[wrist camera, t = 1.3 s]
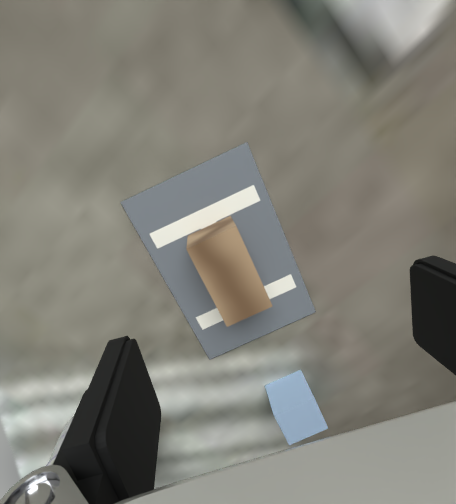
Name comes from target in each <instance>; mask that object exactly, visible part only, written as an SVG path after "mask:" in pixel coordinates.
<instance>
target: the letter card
mask: <svg viewBox="0 0 456 504" xmlns="http://www.w3.org/2000/svg"><path fill="white" fill-rule="evenodd" d="M121 204H122V206H123V208H124V209H125V211H126V213H127V215H128V216H129V218H130V220H131V222H132V223H133V225H134V227H135V229H136V231H137V232H138V234H139V236H140V238H141V239H142V241H143V243H144V245H145V246H146V248H147V250H148V252H149V253H150V255H151V257H152V259H153V261H154V262H155V264H156V266H157V268H158V269H159V271H160V273H161V275H162V276H163V278H164V280H165V282H166V283H167V285H168V287H169V289H170V290H171V292H172V294H173V296H174V298H175V299H176V301H177V303H178V305H179V306H180V308H181V310H182V312H183V313H184V315H185V317H186V319H187V320H188V322H189V324H190V326H191V328H192V329H193V331H194V333H195V335H196V336H197V338H198V340H199V342H200V343H201V345H202V347H203V349H204V350H205V352H206V354H207V356H208V357H209V359H212V358H214V357H217V356H219V355H221V354H223V353H226V352H228V351H230V350H232V349H234V348H237V347H239V346H241V345H243V344H246V343H248V342H250V341H252V340H254V339H257V338H259V337H261V336H263V335H266V334H268V333H270V332H272V331H275V330H277V329H279V328H281V327H283V326H286V325H288V324H290V323H292V322H295V321H297V320H299V319H301V318H303V317H306V316H308V315H310V314H312V313H315V312H316V311H315V309H314V306H313V304H312V301H311V299H310V296H309V294H308V291H307V289H306V286H305V284H304V282H303V279H302V277H301V274H300V272H299V269H298V267H297V264H296V262H295V259H294V257H293V254H292V252H291V249H290V247H289V244H288V242H287V240H286V237H285V235H284V232H283V230H282V227H281V225H280V222H279V220H278V217H277V215H276V212H275V210H274V207H273V205H272V203H271V200H270V198H269V195H268V193H267V190H266V188H265V185H264V183H263V180H262V178H261V175H260V173H259V170H258V168H257V165H256V163H255V161H254V158H253V156H252V153H251V151H250V148H249V146H248V143H247V142H246V143H244V144H242V145H240V146H238V147H236V148H234V149H231V150H229V151H227V152H225V153H223V154H221V155H219V156H217V157H215V158H213V159H210V160H208V161H206V162H204V163H202V164H200V165H198V166H196V167H194V168H192V169H189V170H187V171H185V172H183V173H181V174H179V175H177V176H175V177H173V178H170V179H168V180H166V181H164V182H162V183H160V184H158V185H156V186H154V187H152V188H149V189H147V190H145V191H143V192H141V193H139V194H137V195H135V196H133V197H131V198H128V199H126V200H124V201H122V202H121ZM229 216H231V217H232V219H233V221H234V223H235V225H236V226H237V229H238V231H239V233H240V235H241V237H242V240H243V242H244V244H245V246H246V248H247V251H248V253H249V255H250V257H251V259H252V262H253V264H254V266H255V268H256V270H257V273H258V275H259V277H260V279H261V281H262V284H263V286H264V288H265V290H266V293H267V295H268V297H269V299H270V301H271V304H272V307H270V308H268V309H266V310H264V311H261V312H259V313H257V314H255V315H252V316H250V317H248V318H246V319H244V320H241V321H239V322H237V323H235V324H233V325H230V326H228V327H227V326H226V324H225V322H224V320H223V318H222V317H221V315H220V313H219V311H218V309H217V307H216V305H215V303H214V301H213V299H212V297H211V295H210V294H209V292H208V290H207V288H206V286H205V284H204V282H203V280H202V278H201V276H200V274H199V273H198V271H197V269H196V267H195V265H194V263H193V261H192V259H191V257H190V255H189V253H188V251H187V250H186V248H187V237H188V235H190V234H192V233H194V232H197V231H199V230H201V229H203V228H205V227H207V226H209V225H212V224H214V223H216V222H218V221H220V220H222V219H224V218H227V217H229Z"/></svg>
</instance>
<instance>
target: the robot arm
mask: <svg viewBox="0 0 456 504" xmlns="http://www.w3.org/2000/svg"><path fill="white" fill-rule="evenodd" d="M410 285H411V305H412V326H413V337H414V339H415V341H416V343H417V344H418V345H419V346H420V347H421V348H423V349H424V350H425V351H426V352H428V353H429V354H430V355H431V356H433V357H434V358H435V359H436V360H437V361H439V362H440V363H441V364H442V365H444V366H445V367H446V368H447V369H449V370H450V371H451V372H452V373H454V374H455V375H456V264H455V263H452V262H450V261H447V260H445V259H442V258H440V257H437V256H430V257H426V258H422V259H418V260H416V261H415V262H414V264H413V265H412V266H411V268H410ZM160 422H161V409H160V404H159V402H158V399H157V396H156V393H155V391H154V388H153V385H152V382H151V379H150V377H149V374H148V371H147V368H146V366H145V363H144V360H143V357H142V355H141V352H140V349H139V346H138V344H137V341H136V340H135V339H131V340H130V338H129V337H128V336H125V337H121V338H117V339H113V340H110V341H109V342H108V344H107V346H106V348H105V351H104V353H103V355H102V357H101V360H100V362H99V364H98V367H97V369H96V371H95V374H94V376H93V378H92V381H91V383H90V385H89V388H88V390H86V391H85V393H84V394H83V397H82V399H81V401H80V404H79V406H78V408H77V410H76V413H75V415H74V417H73V419H72V422H71V424H70V426H69V429H68V431H67V433H66V435H65V438H64V440H63V442H62V445H61V447H60V449H59V451H58V454H57V456H56V458H55V460H54V463H53V465H49V466H44V467H41V468H39V469H37V470H35V471H32V472H31V473H29V474H28V475H26V476H25V477H23V478H22V479H20V480H19V481H18V482H17V483H16V484H15V485H14V486H12V487H11V488H10V489H9V490H8V492H7V493H6V494H5V495H4V496H3V498H2V499H1V500H0V504H456V401H452V402H449V403H445V404H442V405H438V406H435V407H431V408H428V409H424V410H421V411H417V412H414V413H410V414H407V415H403V416H400V417H396V418H393V419H389V420H386V421H382V422H379V423H375V424H372V425H369V426H365V427H362V428H358V429H355V430H351V431H348V432H344V433H341V434H337V435H334V436H331V437H327V438H324V439H320V440H317V441H313V442H310V443H307V444H303V445H300V446H297V447H293V448H290V449H286V450H283V451H280V452H276V453H273V454H269V455H266V456H263V457H259V458H256V459H252V460H249V461H246V462H242V463H239V464H236V465H232V466H229V467H225V468H222V469H219V470H215V471H212V472H208V473H205V474H202V475H198V476H195V477H192V478H188V479H185V480H181V481H178V482H175V483H172V484H169V485H166V486H163V487H160V488H157V489H154V481H155V471H156V461H157V451H158V442H159V432H160Z"/></svg>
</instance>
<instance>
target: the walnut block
mask: <svg viewBox="0 0 456 504" xmlns="http://www.w3.org/2000/svg"><path fill="white" fill-rule="evenodd" d="M186 250H187V251H188V253H189V255H190V257H191V259H192V261H193V263H194V265H195V267H196V269H197V271H198V273H199V274H200V276H201V278H202V280H203V282H204V284H205V286H206V288H207V290H208V292H209V294H210V295H211V297H212V299H213V301H214V303H215V305H216V307H217V309H218V311H219V313H220V315H221V317H222V318H223V320H224V322H225V324H226V326H227V327H228V326H230V325H233V324H235V323H237V322H239V321H241V320H244V319H246V318H248V317H250V316H252V315H255V314H257V313H259V312H261V311H264V310H266V309H268V308H270V307H272V304H271V301H270V299H269V297H268V295H267V293H266V290H265V288H264V286H263V284H262V281H261V279H260V277H259V275H258V273H257V270H256V268H255V266H254V264H253V262H252V259H251V257H250V255H249V253H248V251H247V248H246V246H245V244H244V242H243V240H242V237H241V235H240V233H239V231H238V229H237V226H236V225H235V223H234V221H233V219H232V217H231V216H229V217H227V218H224V219H222V220H220V221H218V222H216V223H214V224H212V225H209V226H207V227H205V228H203V229H201V230H199V231H197V232H194V233H192V234H190V235H188V237H187V248H186Z"/></svg>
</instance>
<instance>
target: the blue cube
mask: <svg viewBox="0 0 456 504" xmlns="http://www.w3.org/2000/svg"><path fill="white" fill-rule="evenodd" d="M265 388H266V391H267V394H268V398H269V401H270V404H271V408H272V411H273V414H274V417H275V419H276V421H277V423H278V425H279V426H280V428H281V430H282V432H283V434H284V436H285V438H286V440H287V442H288V444H289V445H291V444H293V443H296V442H298V441H300V440H303V439H305V438H307V437H309V436H312V435H314V434H316V433H319V432H321V431H323V430H326V429H328V427H327V425H326V422H325V420H324V418H323V416H322V414H321V411H320V409H319V407H318V405H317V403H316V400H315V398H314V396H313V394H312V392H311V390H310V388H309V386H308V384H307V382H306V380H305V378H304V376H303V374H302V372H301V370H299V371H296V372H294V373H292V374H290V375H287V376H285V377H283V378H281V379H278V380H276V381H274V382H272V383H269V384H267V385H265Z"/></svg>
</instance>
